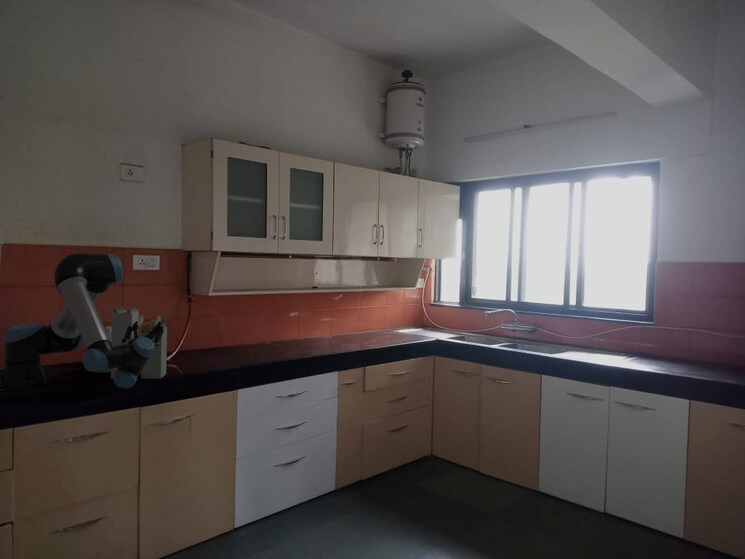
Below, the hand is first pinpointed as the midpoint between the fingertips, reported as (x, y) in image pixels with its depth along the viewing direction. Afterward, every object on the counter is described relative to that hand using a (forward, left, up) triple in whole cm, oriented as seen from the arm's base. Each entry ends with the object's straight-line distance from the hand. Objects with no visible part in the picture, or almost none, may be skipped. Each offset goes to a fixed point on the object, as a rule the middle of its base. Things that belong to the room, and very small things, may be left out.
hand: (150, 317), depth 210 cm
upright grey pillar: (0, +6, -26) cm, 27 cm away
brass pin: (0, +4, -6) cm, 7 cm away
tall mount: (-12, +6, -26) cm, 29 cm away
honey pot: (-26, +32, -26) cm, 49 cm away
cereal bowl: (-24, +17, -26) cm, 39 cm away
